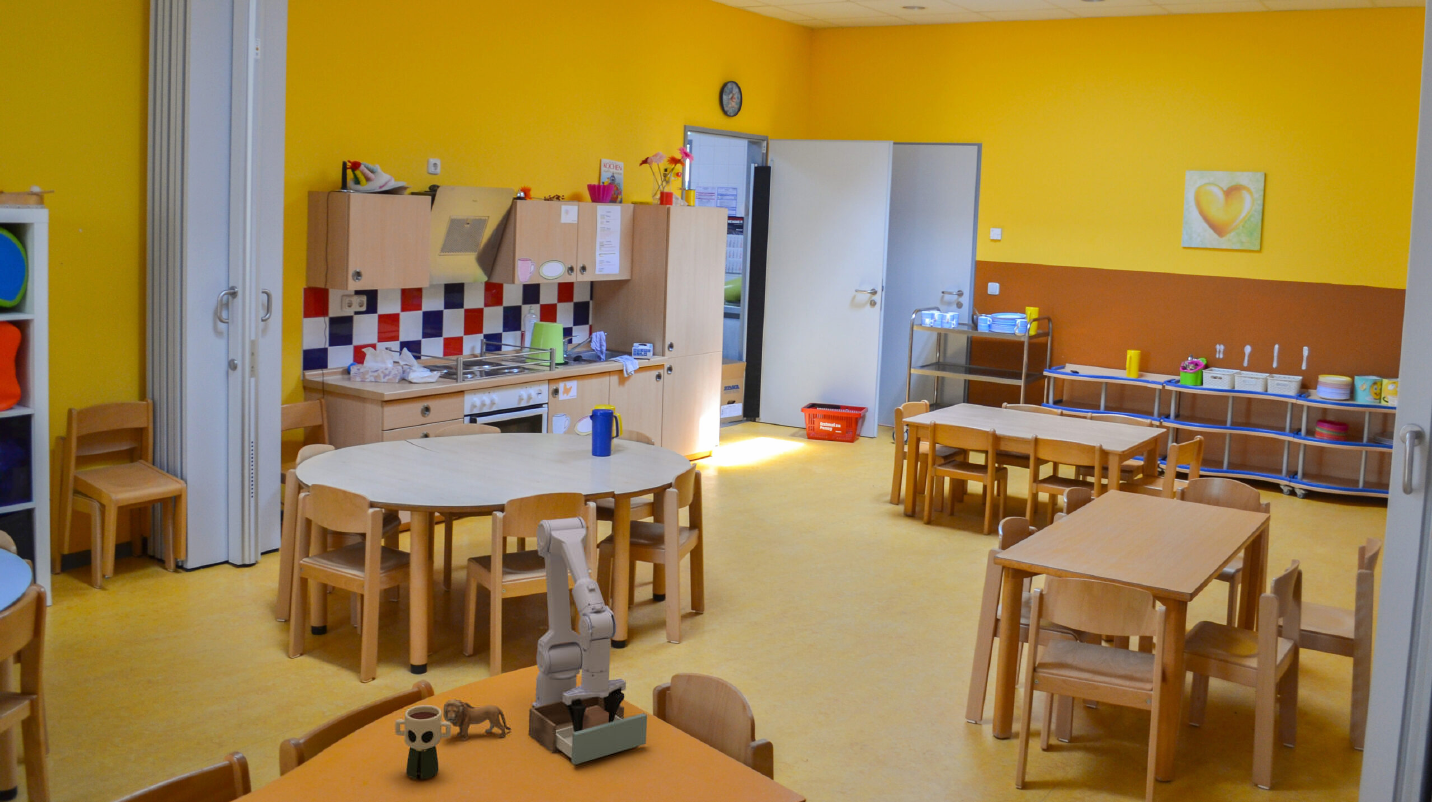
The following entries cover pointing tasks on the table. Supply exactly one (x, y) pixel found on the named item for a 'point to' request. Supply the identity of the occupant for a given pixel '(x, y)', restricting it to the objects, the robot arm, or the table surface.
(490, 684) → the table surface
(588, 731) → the green drawer
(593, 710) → the terracotta block
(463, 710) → the lion figurine
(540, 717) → the cubby
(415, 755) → the character mug
